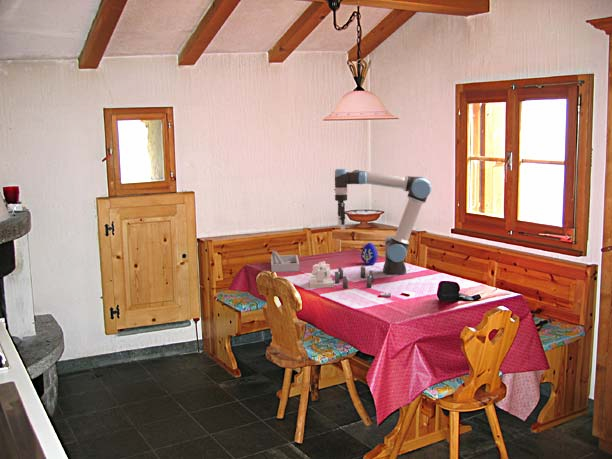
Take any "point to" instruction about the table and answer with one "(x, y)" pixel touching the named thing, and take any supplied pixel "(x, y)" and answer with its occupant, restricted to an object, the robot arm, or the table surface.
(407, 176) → the robot arm
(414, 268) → the table surface
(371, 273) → the standoff posts
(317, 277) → the mechanical part
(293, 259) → the storage bin
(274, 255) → the faucet
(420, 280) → the table surface
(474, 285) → the table surface
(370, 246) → the ornament
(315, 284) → the parts stand
